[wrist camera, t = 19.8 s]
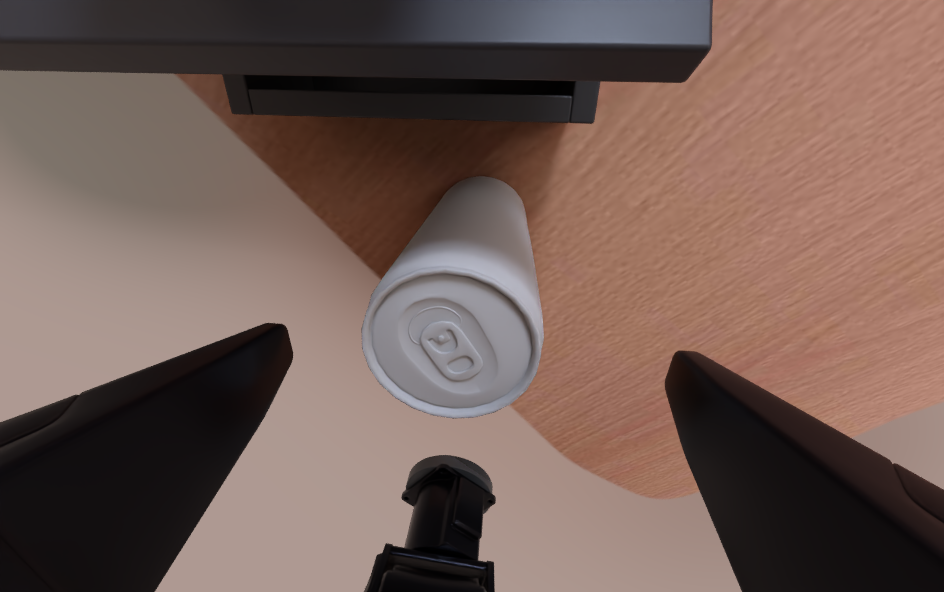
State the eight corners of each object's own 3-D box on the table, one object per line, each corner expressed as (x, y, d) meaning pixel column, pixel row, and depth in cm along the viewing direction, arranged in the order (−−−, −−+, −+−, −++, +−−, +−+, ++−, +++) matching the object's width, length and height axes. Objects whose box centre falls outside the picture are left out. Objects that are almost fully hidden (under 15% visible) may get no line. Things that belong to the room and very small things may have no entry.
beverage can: (499, 155, 18) (483, 224, 8) (542, 236, 20) (579, 385, 9) (420, 203, 20) (316, 318, 9) (467, 275, 21) (425, 443, 11)
